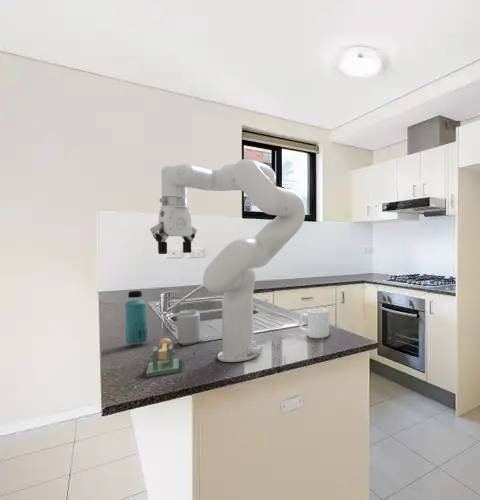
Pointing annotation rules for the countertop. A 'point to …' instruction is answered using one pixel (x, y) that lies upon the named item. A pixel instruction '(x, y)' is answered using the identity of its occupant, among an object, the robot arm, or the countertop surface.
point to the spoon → (164, 348)
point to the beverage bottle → (135, 319)
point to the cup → (316, 323)
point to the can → (188, 327)
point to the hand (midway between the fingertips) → (175, 253)
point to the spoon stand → (162, 364)
